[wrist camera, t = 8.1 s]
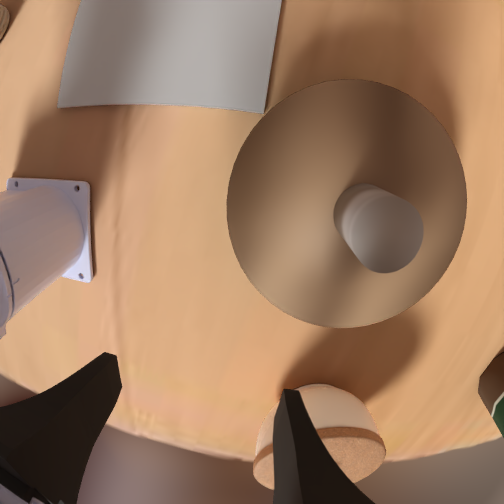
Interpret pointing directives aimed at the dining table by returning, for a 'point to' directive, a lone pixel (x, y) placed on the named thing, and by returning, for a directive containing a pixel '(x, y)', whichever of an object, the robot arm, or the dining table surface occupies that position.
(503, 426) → the beer bottle
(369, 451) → the lidded jar
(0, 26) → the carving
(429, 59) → the dining table surface
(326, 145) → the lid
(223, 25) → the mat
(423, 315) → the dining table surface
